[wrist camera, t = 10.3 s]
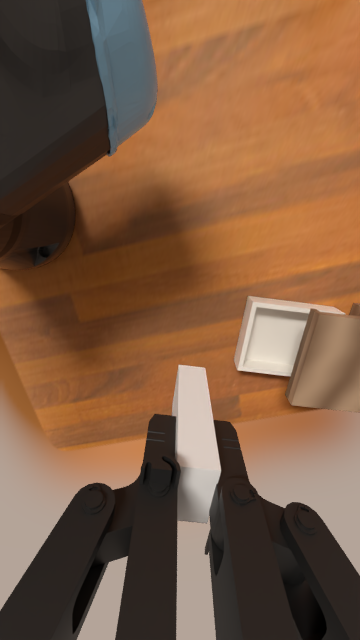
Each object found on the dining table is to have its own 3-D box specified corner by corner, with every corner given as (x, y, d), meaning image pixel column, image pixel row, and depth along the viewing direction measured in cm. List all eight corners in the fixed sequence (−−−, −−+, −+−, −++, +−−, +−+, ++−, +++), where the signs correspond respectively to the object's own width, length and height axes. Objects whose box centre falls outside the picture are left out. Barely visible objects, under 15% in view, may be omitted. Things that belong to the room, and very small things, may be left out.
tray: (233, 359, 40) (237, 370, 37) (247, 295, 37) (252, 301, 34) (312, 369, 41) (321, 380, 38) (333, 306, 37) (345, 313, 34)
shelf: (271, 371, 41) (291, 405, 33) (292, 295, 37) (319, 314, 29) (336, 378, 41) (369, 413, 34) (363, 304, 37) (408, 324, 29)
